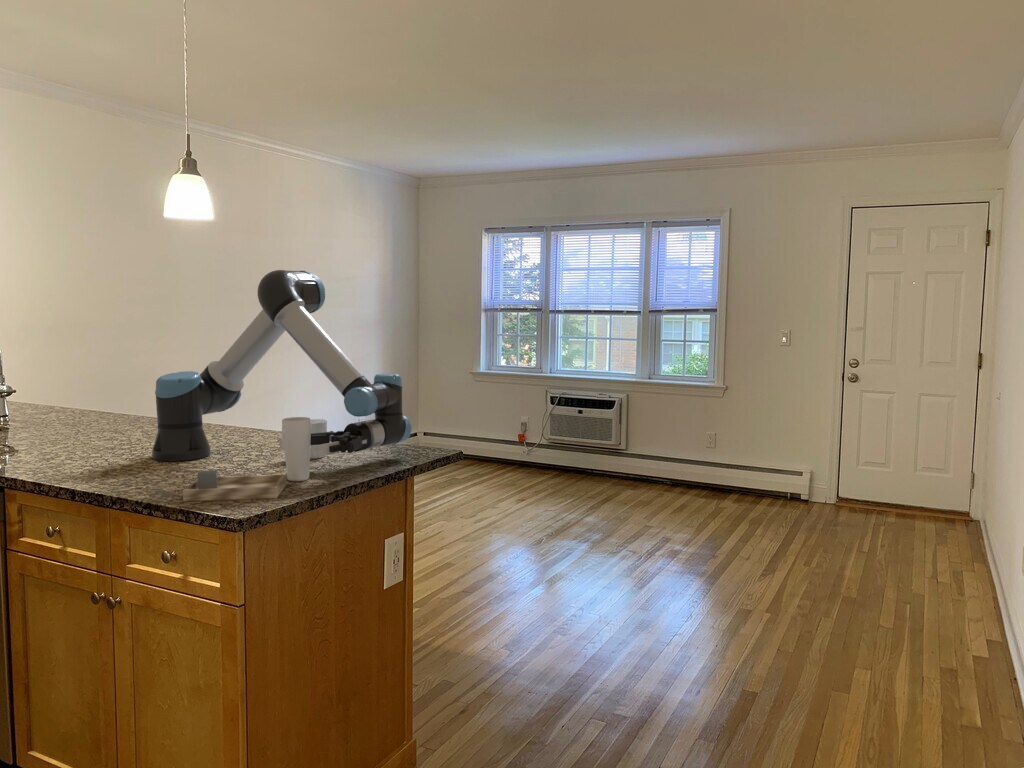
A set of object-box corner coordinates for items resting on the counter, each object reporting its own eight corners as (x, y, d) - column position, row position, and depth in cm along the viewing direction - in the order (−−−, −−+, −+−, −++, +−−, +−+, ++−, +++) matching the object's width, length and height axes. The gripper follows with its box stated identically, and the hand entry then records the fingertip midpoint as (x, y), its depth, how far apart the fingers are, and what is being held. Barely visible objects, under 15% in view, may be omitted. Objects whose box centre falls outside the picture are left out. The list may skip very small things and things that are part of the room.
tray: (183, 501, 175) (182, 490, 175) (199, 487, 188) (199, 477, 187) (276, 497, 177) (276, 487, 177) (286, 484, 190) (286, 474, 190)
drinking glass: (286, 476, 198) (284, 417, 197) (314, 476, 199) (312, 416, 197) (281, 483, 191) (279, 421, 190) (310, 482, 192) (308, 420, 190)
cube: (198, 492, 179) (197, 475, 179) (199, 488, 183) (198, 471, 182) (217, 491, 180) (216, 473, 180) (218, 487, 184) (217, 470, 184)
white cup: (320, 459, 219) (319, 423, 218) (294, 458, 221) (293, 423, 220) (332, 454, 227) (331, 419, 226) (307, 453, 228) (305, 418, 227)
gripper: (397, 454, 204) (333, 469, 187) (331, 444, 219) (267, 457, 202) (396, 426, 203) (333, 438, 186) (330, 417, 218) (265, 428, 201)
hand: (298, 448), depth 194 cm, fingers open, 13 cm apart
